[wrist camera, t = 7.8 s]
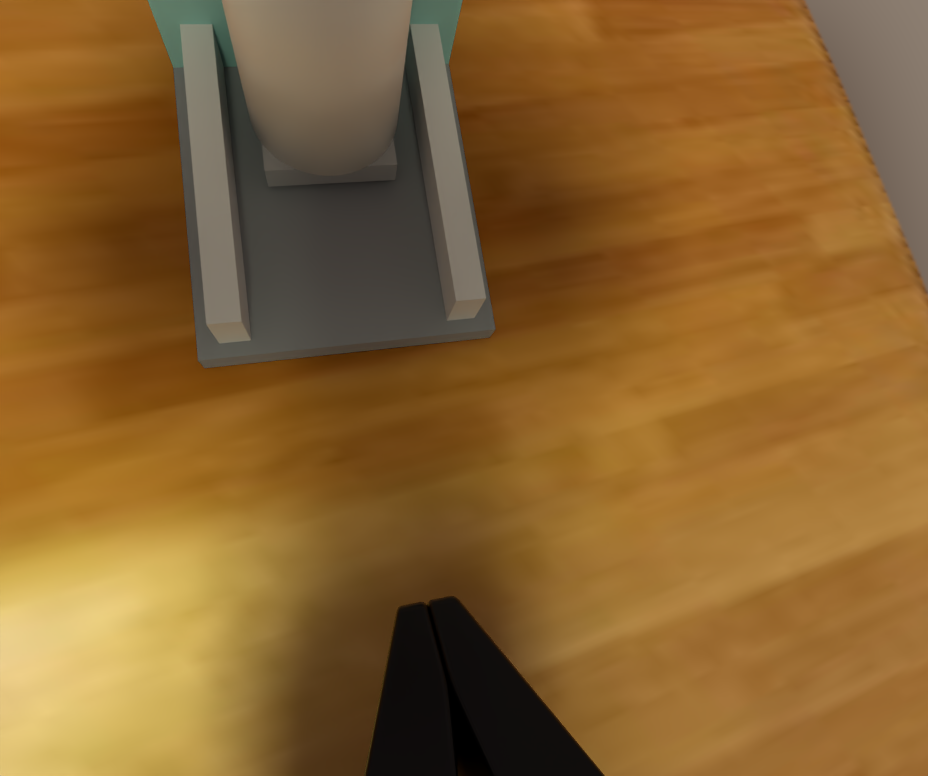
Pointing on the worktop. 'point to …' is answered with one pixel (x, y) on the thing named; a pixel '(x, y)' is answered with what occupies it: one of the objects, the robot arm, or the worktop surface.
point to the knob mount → (323, 213)
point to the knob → (322, 85)
